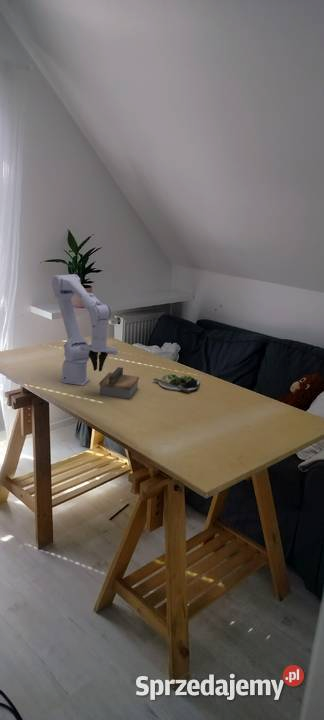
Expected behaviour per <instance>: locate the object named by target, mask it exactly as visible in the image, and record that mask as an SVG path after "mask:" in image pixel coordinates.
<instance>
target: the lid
mask: <svg viewBox="0 0 324 720" xmlns="http://www.w3.org/2000/svg"><path fill="white" fill-rule="evenodd" d="M139 380H140V376H135V375H129V374H124V367H121V366H118V367H117V368H116V369H115V370H114V371H113V372H108V373H107V374H106V375H105V376H104V377H103V378H102V380H100V381H99V383H98V386H100V385H101V386H107V387H114V388H121V389H127V390H131V389H132V388H133V386H134V385H135V384H136V382H137V381H138V382H139Z"/></svg>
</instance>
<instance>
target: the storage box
mask: <svg viewBox="0 0 324 720" xmlns="http://www.w3.org/2000/svg"><path fill="white" fill-rule="evenodd" d="M138 384H139V380H138V381H137V382H136V384H135V385H134V386H133V388H132V389H131V390H127V389H121V388H114V387H107V386H101V385H99V395H100V396H107V397H112V398H120V399H125V400H131V398H132V396H133V395H134V394H135V392H136V391H137V390H138V386H139V385H138Z"/></svg>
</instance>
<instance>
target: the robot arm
mask: <svg viewBox="0 0 324 720" xmlns="http://www.w3.org/2000/svg"><path fill="white" fill-rule="evenodd" d="M81 283H82V281H81V277H79V275H78V274H76V273H73V274H55V275H54V276H53V278H52V282H51V288H52V291H53V294H54V298H56V299H57V302H58V307H59V309H60V314H61V317H62V320H63V325H64V328H65V332H66V336H67V340H66V341H65V343H64V344H63V348H64V357H65V359H64V360H63V362H62V367H61V371H62V373H61V374H62V375H61V377H62V378H61V379H62V380H61V383H64V384H71V385H78V386H85V385H86V383H88V382H89V381H90V379H91V378H90V377H88V375H87V371H88V370H87V367H88V361H91V364H92V368H93V371H94V372H95V371H97V370H98V372H102V370H103V368H104V364H105V361H106V360H107V357H108V355H113V356H117V355H118V351H119V350H118V348H113V347H110V346H107V339H108V338H107V337H108V320H110V318H111V316H112V310H111V307H110V306H109V304H107V303H102V302H101V301H100V300H99V299H98V298H97V297H96V296H95V294H94V293H93V292H88V291H87V290H86V289H85V288H84V286H83V285H82V284H81ZM75 296H77V297H78V298H79V299H80V304H81V305H82V306H83V307H84V308H85V310H86V311H87V312H88V316H89V319H90V324H91V340H90V341H91V342H90V343H91V344H89V341H88V339H86V338H85V337H84V336H82V335H81V331H80V328H79V323H78V320H77V316H76V314H75V313H76V312H75V310H74V306H73V302H72V298H73V297H75Z"/></svg>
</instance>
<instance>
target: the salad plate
mask: <svg viewBox="0 0 324 720" xmlns="http://www.w3.org/2000/svg"><path fill="white" fill-rule="evenodd" d="M152 380H153V381H154V382H156V383H158V384H159V385H160V387H162V388H163V389H166V390H168V391H176V392H181V393H194V392H196V391H197V390H198V389H199V387H200V384H201V381H200V379H199V378H197V377H194V376H191V375H186V374H185V375H179V374H165V375H163V376H162V377H161V378H160V379H159V378H153V379H152Z"/></svg>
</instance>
